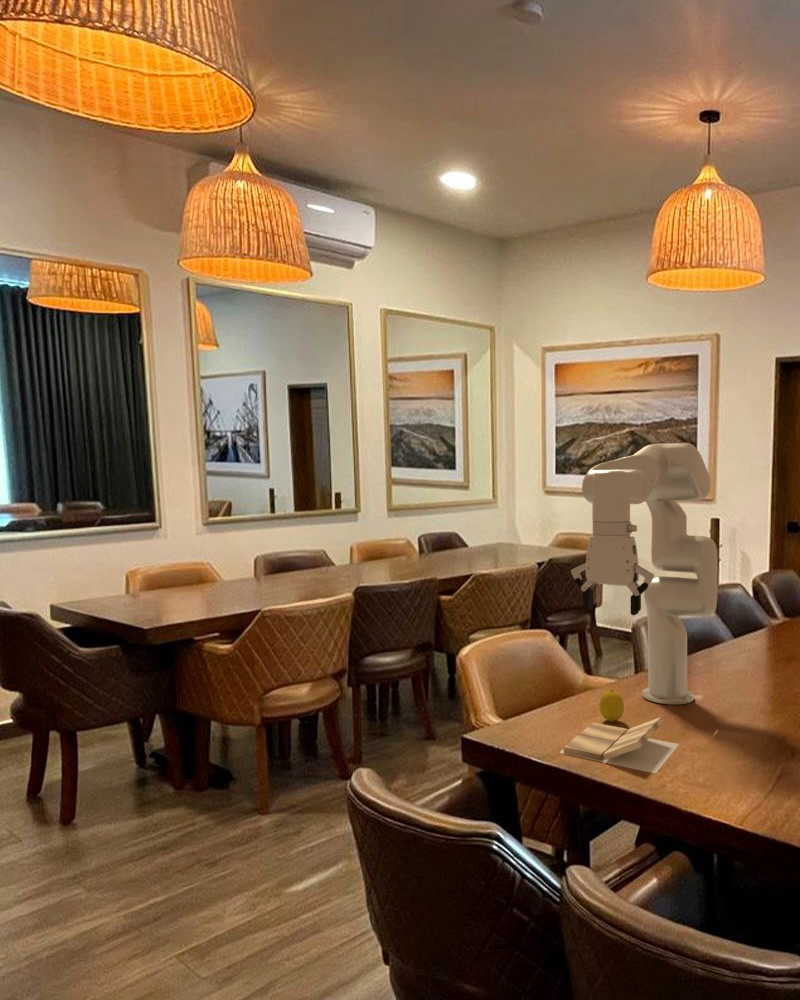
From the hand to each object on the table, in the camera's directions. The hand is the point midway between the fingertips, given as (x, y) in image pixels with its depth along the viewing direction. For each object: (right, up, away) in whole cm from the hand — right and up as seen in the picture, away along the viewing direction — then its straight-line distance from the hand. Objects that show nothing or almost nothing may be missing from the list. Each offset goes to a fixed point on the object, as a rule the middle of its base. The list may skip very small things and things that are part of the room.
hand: (611, 611), depth 153 cm
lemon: (+6, -30, +20) cm, 36 cm away
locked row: (-1, -30, +7) cm, 30 cm away
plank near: (+3, -28, -2) cm, 28 cm away
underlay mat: (+3, -30, +4) cm, 30 cm away
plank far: (+8, -27, +5) cm, 29 cm away
